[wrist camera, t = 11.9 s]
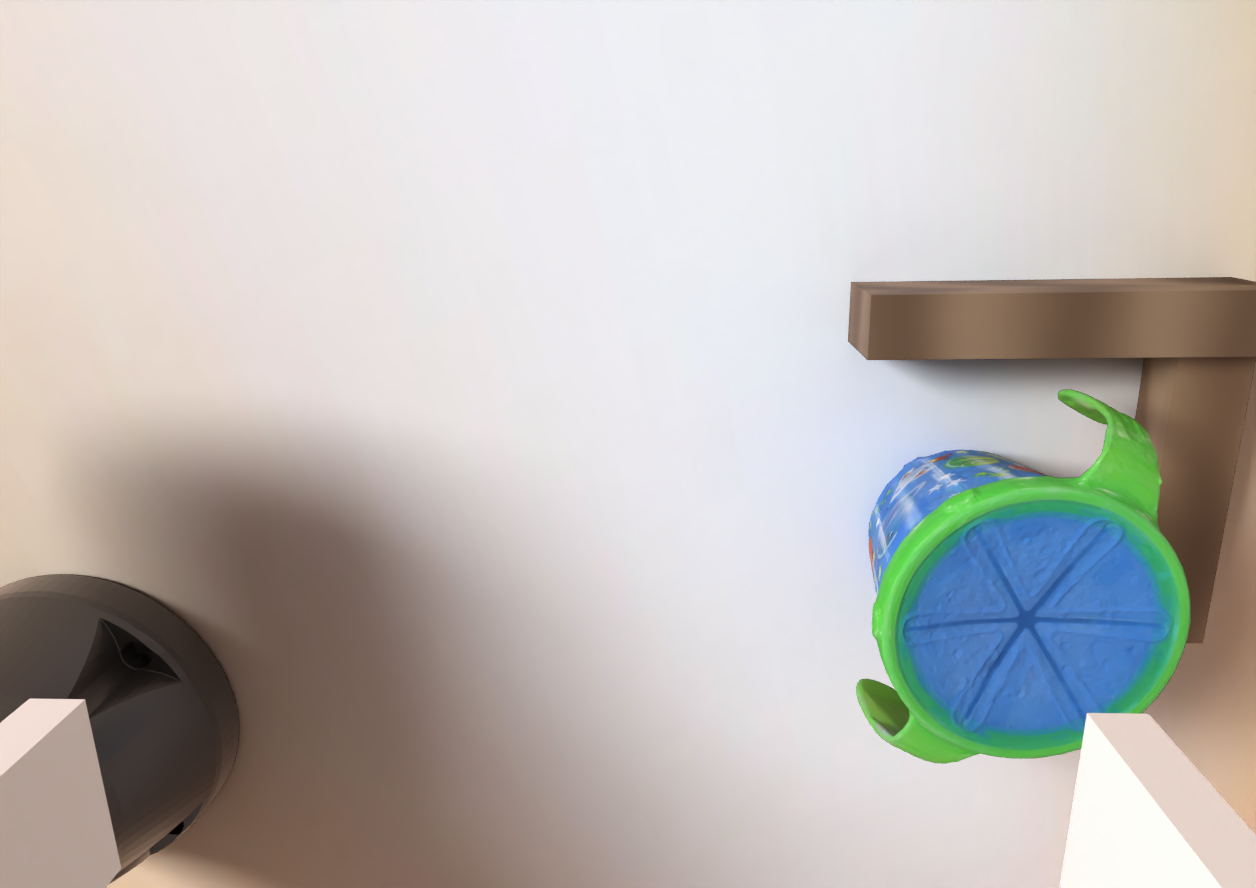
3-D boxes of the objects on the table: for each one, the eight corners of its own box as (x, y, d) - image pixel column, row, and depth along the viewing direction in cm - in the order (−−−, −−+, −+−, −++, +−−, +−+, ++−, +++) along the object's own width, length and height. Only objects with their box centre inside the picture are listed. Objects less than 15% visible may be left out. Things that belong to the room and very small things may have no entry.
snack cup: (972, 314, 38) (1075, 364, 28) (1160, 450, 39) (1320, 542, 30) (752, 589, 42) (776, 714, 33) (929, 703, 44) (1003, 857, 34)
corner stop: (833, 614, 42) (849, 658, 39) (851, 282, 38) (871, 295, 34) (1172, 615, 42) (1222, 661, 38) (1231, 277, 37) (1295, 289, 33)
